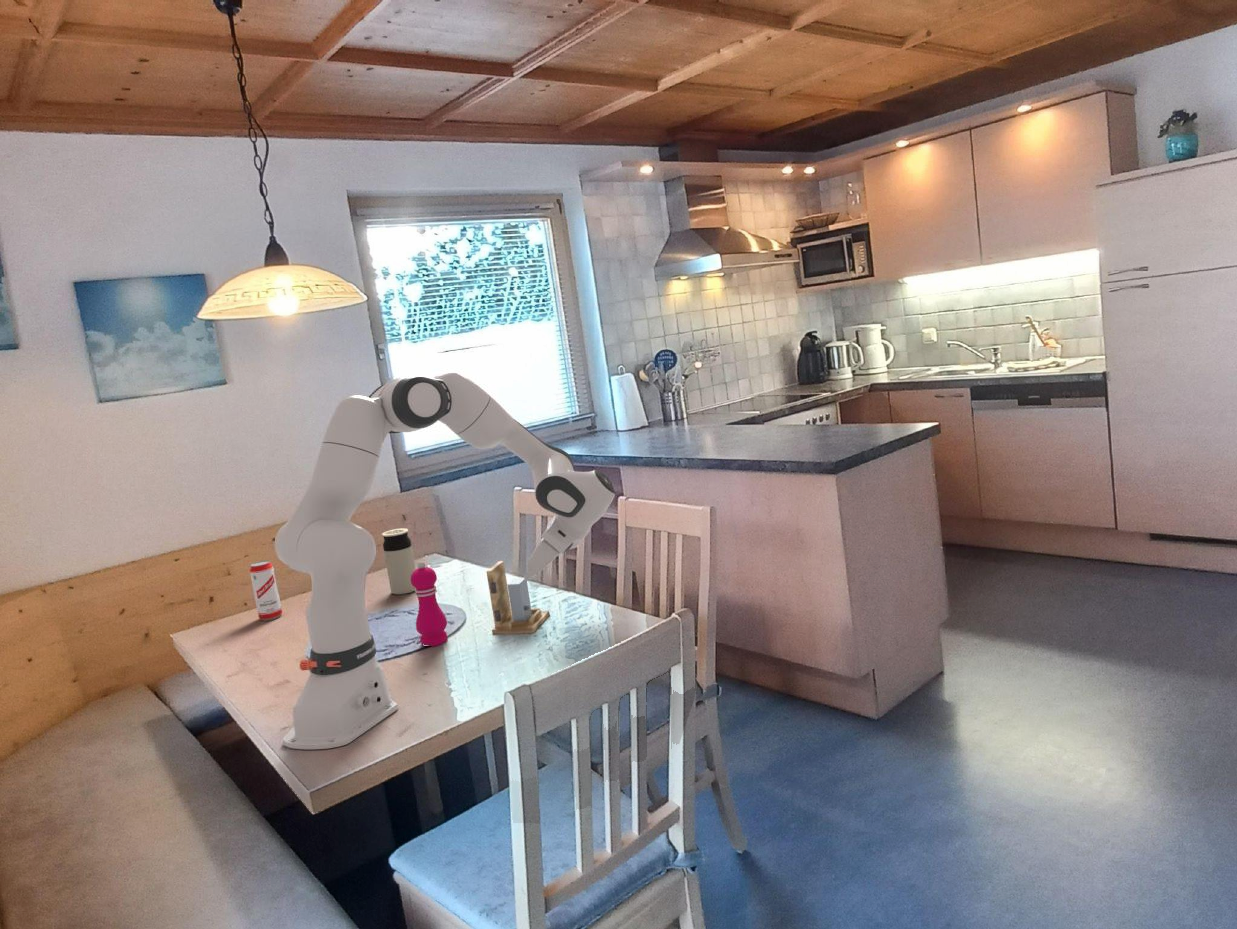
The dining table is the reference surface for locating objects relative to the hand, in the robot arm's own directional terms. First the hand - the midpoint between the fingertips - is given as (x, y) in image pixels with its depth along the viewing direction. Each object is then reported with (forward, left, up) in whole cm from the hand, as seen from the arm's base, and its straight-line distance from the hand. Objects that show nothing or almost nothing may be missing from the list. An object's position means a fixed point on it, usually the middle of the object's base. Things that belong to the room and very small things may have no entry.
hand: (533, 572), depth 199 cm
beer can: (+12, +85, -13) cm, 87 cm away
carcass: (0, +4, -13) cm, 14 cm away
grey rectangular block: (0, +4, -12) cm, 13 cm away
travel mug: (+31, +53, -13) cm, 63 cm away
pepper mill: (-10, +23, -13) cm, 29 cm away
